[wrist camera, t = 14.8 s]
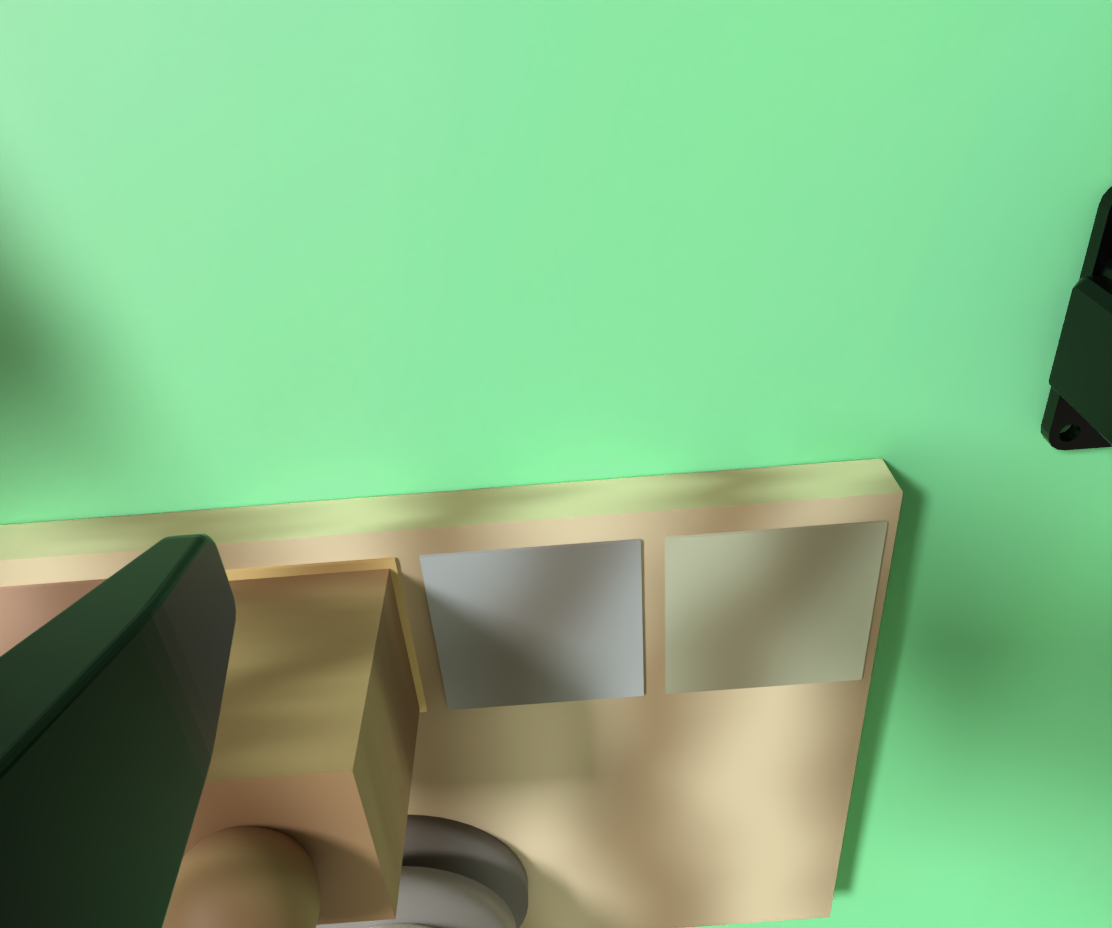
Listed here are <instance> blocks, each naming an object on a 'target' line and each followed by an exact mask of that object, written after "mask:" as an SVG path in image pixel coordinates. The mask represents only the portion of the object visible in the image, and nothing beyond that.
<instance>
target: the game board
mask: <svg viewBox="0 0 1112 928" xmlns="http://www.w3.org/2000/svg"><path fill="white" fill-rule="evenodd" d="M902 496H903V492H902V490H901V488H900V487H899V485H898V483H897V482H896V480H895V479H894V477H893V475H892V474H891V472H890V471H889V469H888V467H887V466H886V464H885V462H884V461H883V459H869V460H856V461H842V462H829V463H816V464H803V465H789V466H776V467H763V468H750V469H736V470H723V471H710V472H697V473H683V474H670V475H657V476H644V477H631V478H617V479H604V480H591V481H578V482H564V483H551V484H538V485H525V486H511V487H498V488H485V489H472V490H458V491H445V492H432V493H419V494H405V495H392V496H379V497H366V498H352V499H339V500H326V501H313V502H299V503H286V504H273V505H260V506H247V507H233V508H220V509H207V510H194V511H180V512H167V513H154V514H141V515H127V516H114V517H101V518H88V519H74V520H61V521H48V522H35V523H21V524H8V525H0V656H2V655H3V654H5V653H6V652H7V651H9V650H10V649H11V648H13V647H14V646H16V645H17V644H18V643H20V642H21V641H22V640H24V639H25V638H27V637H28V636H29V635H31V634H32V633H33V632H35V631H36V630H38V629H39V628H40V627H42V626H43V625H44V624H46V623H47V622H49V621H50V620H51V619H53V618H54V617H55V616H57V615H58V614H60V613H61V612H62V611H64V610H65V609H66V608H68V607H69V606H71V605H72V604H73V603H75V602H76V601H77V600H79V599H80V598H82V597H83V596H84V595H86V594H87V593H88V592H90V591H91V590H93V589H94V588H95V587H97V586H98V585H100V584H101V583H102V582H104V581H105V580H106V579H108V578H109V577H111V576H112V575H113V574H115V573H116V572H117V571H119V570H120V569H122V568H123V567H124V566H126V565H127V564H128V563H130V562H131V561H133V560H134V559H135V558H137V557H138V556H139V555H141V554H142V553H144V552H145V551H146V550H148V549H149V548H150V547H152V546H153V545H155V544H156V543H157V542H159V541H160V540H162V539H163V538H165V537H168V536H175V535H189V534H206V535H208V536H210V537H211V538H212V539H213V540H214V542H215V544H216V546H217V548H218V551H219V554H220V557H221V560H222V563H223V566H224V569H225V571H226V574H227V577H228V580H229V581H233V580H246V579H259V578H272V577H285V576H298V575H312V574H325V573H338V572H351V571H364V570H377V569H389V570H390V574H391V579H392V583H393V588H394V593H395V597H396V602H397V606H398V611H399V616H400V620H401V625H402V629H403V634H404V639H405V643H406V648H407V652H408V657H409V662H410V666H411V671H412V675H413V680H414V685H415V689H416V694H417V698H418V703H419V708H420V711H419V720H418V729H417V737H416V746H415V755H414V763H413V772H412V781H411V789H410V798H409V807H408V816H407V824H406V833H405V842H404V850H403V859H402V866H415V867H426V868H434V869H439V870H444V871H449V872H452V873H456V874H459V875H463V876H465V877H468V878H470V879H473V880H475V881H477V882H479V883H481V884H483V885H485V886H486V887H488V888H489V889H491V890H492V891H494V892H495V893H496V894H497V895H498V896H500V897H501V898H502V899H503V900H504V901H505V903H506V904H507V905H508V907H509V908H510V910H511V912H512V914H513V916H514V919H515V923H516V928H684V927H698V926H712V925H725V924H739V923H753V922H767V921H780V920H794V919H808V918H822V917H830V912H831V906H832V900H833V894H834V888H835V883H836V877H837V871H838V865H839V860H840V854H841V848H842V842H843V836H844V831H845V825H846V819H847V813H848V808H849V802H850V796H851V790H852V785H853V779H854V773H855V767H856V761H857V756H858V750H859V744H860V738H861V733H862V727H863V721H864V715H865V710H866V704H867V698H868V692H869V686H870V681H871V675H872V669H873V663H874V658H875V652H876V646H877V640H878V635H879V629H880V623H881V617H882V611H883V606H884V600H885V594H886V588H887V583H888V577H889V571H890V565H891V559H892V554H893V548H894V542H895V536H896V531H897V525H898V519H899V513H900V508H901V502H902Z"/></svg>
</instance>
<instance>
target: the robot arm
mask: <svg viewBox="0 0 1112 928" xmlns="http://www.w3.org/2000/svg"><path fill="white" fill-rule="evenodd" d="M1049 384H1050V385H1051V390H1050V394H1049V398H1048V401H1047V405H1046V409H1045V413H1044V417H1043V420H1042V424H1041V433H1042V435H1043V437H1044V438H1045V439H1046V441H1047V442H1048V443H1049V444H1050V445H1051V446H1052V447H1054V448H1056V449H1058V450H1073V449H1086V448H1099V447H1112V187H1110V188H1109V189H1108V190H1107V192H1106V193H1105V194H1104V195H1103V197H1102V199H1101V201H1100V203H1099V206H1098V210H1097V214H1096V218H1095V222H1094V226H1093V229H1092V233H1091V237H1090V241H1089V245H1088V248H1087V252H1086V256H1085V260H1084V264H1083V268H1082V271H1081V275H1080V279H1079V281H1078V282H1077V284H1076V285H1075V286H1074V288H1073V290H1072V293H1071V297H1070V301H1069V305H1068V309H1067V313H1066V316H1065V320H1064V324H1063V328H1062V332H1061V336H1060V340H1059V343H1058V347H1057V351H1056V355H1055V359H1054V363H1053V367H1052V370H1051V374H1050V378H1049ZM1069 424H1071V426H1070V428H1069V429H1068V430H1066V431H1065V432H1062V433H1060V431H1061V429H1062V428H1063V427H1065V426H1066V425H1069ZM235 622H236V604H235V598H234V595H233V592H232V589H231V586H230V583H229V580H228V577H227V574H226V571H225V569H224V566H223V563H222V560H221V557H220V554H219V551H218V548H217V546H216V544H215V542H214V540H213V539H212V538H211V537H210V536H208V535H206V534H189V535H175V536H168V537H165V538H163V539H162V540H160V541H159V542H157V543H156V544H155V545H153V546H152V547H150V548H149V549H148V550H146V551H145V552H144V553H142V554H141V555H139V556H138V557H137V558H135V559H134V560H133V561H131V562H130V563H128V564H127V565H126V566H124V567H123V568H122V569H120V570H119V571H117V572H116V573H115V574H113V575H112V576H111V577H109V578H108V579H106V580H105V581H104V582H102V583H101V584H100V585H98V586H97V587H95V588H94V589H93V590H91V591H90V592H88V593H87V594H86V595H84V596H83V597H82V598H80V599H79V600H77V601H76V602H75V603H73V604H72V605H71V606H69V607H68V608H66V609H65V610H64V611H62V612H61V613H60V614H58V615H57V616H55V617H54V618H53V619H51V620H50V621H49V622H47V623H46V624H44V625H43V626H42V627H40V628H39V629H38V630H36V631H35V632H33V633H32V634H31V635H29V636H28V637H27V638H25V639H24V640H22V641H21V642H20V643H18V644H17V645H16V646H14V647H13V648H11V649H10V650H9V651H7V652H6V653H5V654H3V655H2V656H0V928H162V926H163V923H164V920H165V916H166V913H167V910H168V906H169V903H170V900H171V896H172V893H173V889H174V886H175V883H176V879H177V876H178V873H179V869H180V866H181V862H182V859H183V856H184V852H185V849H186V846H187V842H188V839H189V835H190V832H191V829H192V825H193V822H194V819H195V815H196V812H197V808H198V805H199V802H200V798H201V795H202V792H203V788H204V785H205V781H206V778H207V774H208V770H209V766H210V763H211V759H212V754H213V749H214V744H215V739H216V733H217V728H218V722H219V716H220V710H221V704H222V698H223V692H224V687H225V681H226V675H227V669H228V663H229V657H230V651H231V646H232V640H233V634H234V628H235Z"/></svg>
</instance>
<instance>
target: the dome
mask: <svg viewBox="0 0 1112 928" xmlns="http://www.w3.org/2000/svg"><path fill="white" fill-rule="evenodd" d="M316 928H516V923H515V919H514V916H513V914H512V912H511V910H510V908H509V907H508V905H507V904H506V903H505V901H504V900H503V899H502V898H501V897H500V896H498V895H497V894H496V893H495V892H494V891H492V890H491V889H489V888H488V887H486V886H485V885H483V884H481V883H479V882H477V881H475V880H473V879H470V878H468V877H465V876H463V875H459V874H456V873H452V872H449V871H444V870H439V869H434V868H426V867H415V866H402V868H401V876H400V885H399V894H398V902H397V911H396V919H390V920H376V921H363V922H349V923H336V924H322V925H316Z"/></svg>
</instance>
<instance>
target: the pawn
mask: <svg viewBox="0 0 1112 928" xmlns="http://www.w3.org/2000/svg"><path fill="white" fill-rule="evenodd" d="M229 583H230V586H231V589H232V592H233V595H234V598H235V604H236V622H235V628H234V634H233V640H232V646H231V651H230V657H229V663H228V669H227V675H226V681H225V687H224V692H223V698H222V704H221V710H220V716H219V722H218V728H217V733H216V739H215V744H214V749H213V754H212V759H211V763H210V766H209V770H208V774H207V778H206V781H205V785H204V788H203V792H202V795H201V798H200V802H199V805H198V808H197V812H196V815H195V819H194V822H193V825H192V829H191V832H190V835H189V839H188V842H187V846H186V849H185V852H184V856H183V859H182V862H181V866H180V869H179V873H178V876H177V879H176V883H175V886H174V889H173V893H172V896H171V900H170V903H169V906H168V910H167V913H166V916H165V920H164V923H163V926H162V928H316V925H322V924H336V923H349V922H363V921H376V920H390V919H396V911H397V902H398V894H399V885H400V876H401V868H402V859H403V850H404V842H405V833H406V824H407V816H408V807H409V798H410V789H411V781H412V772H413V763H414V755H415V746H416V737H417V729H418V720H419V711H420V708H419V703H418V698H417V694H416V689H415V685H414V680H413V675H412V671H411V666H410V662H409V657H408V652H407V648H406V643H405V639H404V634H403V629H402V625H401V620H400V616H399V611H398V606H397V602H396V597H395V593H394V588H393V583H392V579H391V574H390V570H389V569H377V570H364V571H351V572H338V573H325V574H312V575H298V576H285V577H272V578H259V579H246V580H233V581H229Z"/></svg>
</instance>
